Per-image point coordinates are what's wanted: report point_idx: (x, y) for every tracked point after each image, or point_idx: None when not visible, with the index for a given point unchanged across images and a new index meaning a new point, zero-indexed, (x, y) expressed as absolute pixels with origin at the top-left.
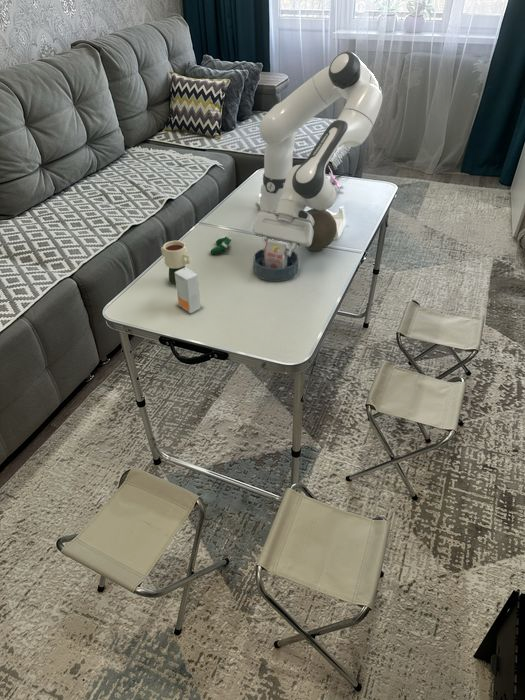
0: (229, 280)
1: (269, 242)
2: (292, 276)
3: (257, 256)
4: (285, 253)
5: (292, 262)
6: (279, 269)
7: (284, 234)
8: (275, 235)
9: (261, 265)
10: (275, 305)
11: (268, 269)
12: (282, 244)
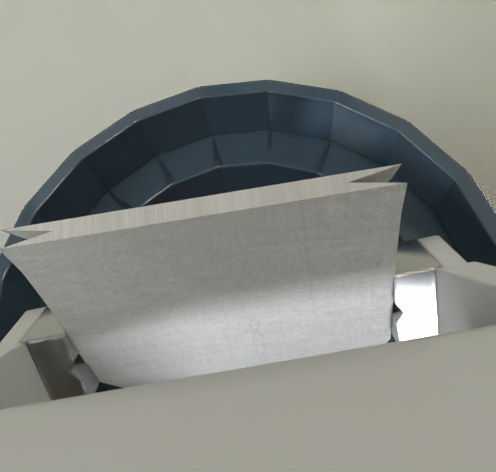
0: (463, 39)
1: (324, 181)
2: None
3: None
4: None
5: None
6: (96, 137)
7: (61, 469)
8: (320, 370)
9: None
10: (56, 10)
11: (191, 93)
12: (57, 223)
